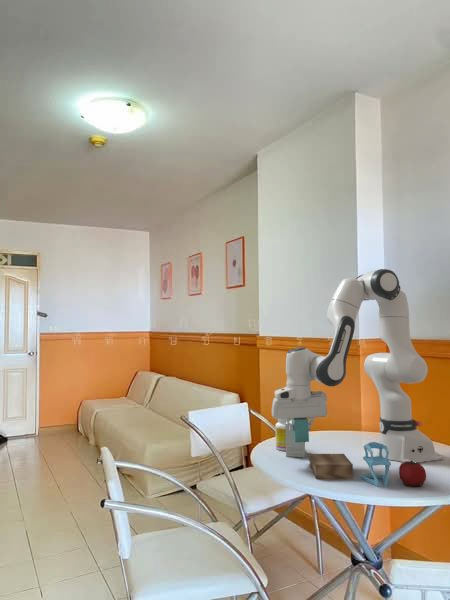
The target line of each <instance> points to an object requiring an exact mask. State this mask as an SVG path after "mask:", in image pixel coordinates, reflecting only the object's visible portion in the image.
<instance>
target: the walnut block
mask: <svg viewBox="0 0 450 600" xmlns="http://www.w3.org/2000/svg"><path fill="white" fill-rule="evenodd" d="M353 465H354V464H353V463H352V462H351V461H350V459H349V458H348V456H346V455H345V453H309V468H310V469H311V473H313V476H314V478H315V479H316V480H354V467H353Z"/></svg>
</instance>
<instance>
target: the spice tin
mask: <svg viewBox="0 0 450 600" xmlns="http://www.w3.org/2000/svg"><path fill="white" fill-rule="evenodd" d="M291 420H292V425H293V426H294V428H293V429H294V431H292V439H293V440H294V441H295V442H305V443H309V442H310V435H309V434H310V432H309V431H310V430H309V428H308V423H309V418H291Z"/></svg>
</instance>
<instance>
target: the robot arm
mask: <svg viewBox="0 0 450 600" xmlns="http://www.w3.org/2000/svg"><path fill="white" fill-rule="evenodd" d="M407 297H408V296H407V295H406V293H405V292H404V291H403V290H401V286H400V280H399V278H398V276H397V274H396V273H395V271H392V270H390V269H386V268H380V269H377V270H376V269H375V270H371V271H368V272H366V273H363V274H360V275H359V276H357V277H356V278H354V277H353V278H352V277H346V278H344V279H342V280H341V281H340V282H339V285H338V286H337V288H336V289H335V291H334V292H333V295H332V296H331V299H330V302H329V304H328V308H327V311H326V318H327V319H328V322H329V323H330V325H331V326H332V327H333V329H334V335H333V339H332V342H331V346H330V349H329V352H328V354H327V355H326V356H325V355H320V354H317V353H315V352H312V351H311V350H310V349H308V348H307V347H304V346H302V347H301V346H300V347H294V348H291V349H289V350H288V351H287V353H286V357H285V358H286V359H285V374H286V377H287V378H286V382H285V383H286V386H284V387H281V388H279V389H276V390H274V392H273V393H274V398H273V400H272V404H271V417H272V418H273V419H275V420H278V419H286V422H287V423H288V425H289V430H290V431H294V429H293V428H294V426H293V425H291V424H290V422H289V421H291V420H292V418H307V419H308V428H309V431H312V425H313V423H314V422H315V418H326V417H327V416H328V407H327V401H328V398H327V393H326V392H324V391H323V390H319V391H314V390H312V389H311V386H312V385H311V382H312V381H316V382H318V383H322V384H323V385H325V386H327V387H336V386H338V385H340V384H341V383H342V382H343V381H344V380H345V377H346V374H347V359H348V356H349V352H350V347H351V344H352V342H353V337H354V333H355V328H356V325H355V324H356V319H357V318H358V313H359V311H360V309H361V305H362V304H363V301H373V300H374V301H376V303H377V304H378V309H379V310H378V336H379V338H380V340H381V341H382V342H384V343H385V344H386V346H387V347H388V349H389V352H376V353H371V354H369V355H367V356H366V358H365V360H364V363H363V368H364V369H363V370H364V372H365V374H366V375H367V376H368V378H370V379H371V380H372V382H373V383H374V386H375V388H376V390H377V393H378V398H379V405H380V407H379V408H380V417H379V431H380V439H379V443H380V444H383V445H385V446H387V448H388V451H389V455H388V460H391V461H396V462H401V463H404V462H406V461H408V462H410V461H413V462H417V463H424V462H423V461H427V462H431V461H430V460H436V461H438V460H437V459H442V460H443V456H442V455H441V453H439V452H438V451H436V450H435V446H434V443H433V441H432V440H431V438H429V436H427V435H425V434H424V433H423V432H421V431H420V430H419V429H418V428H417V427H419V428H421V427H422V426H423V424H422V421H420V420H416V419H414V418H413V415H412V399H411V397H410V396H409V395H408V394H407V393H406V392H405V391H404V390H403V389H402V387H401V385H400V383H401V384H418V383H422V382H423V381H424V380H425V379H426V377H427V375H428V370H429V369H428V365H427V362H426V361H425V359H424V358H423V357H422V356H421V355H420V354H419V353H418V352H417V350H416V349H415V346H414V345H413V343H412V340H411V339H412V338H411V331H410V312H409V311H410V310H409V309H410V307H409V303H408V302H409V301H408V298H407ZM379 451H380V449H378V451H377V456H379ZM386 454H387V453H386V451H385V449H382V456H383V457H384V458H385V456H386Z"/></svg>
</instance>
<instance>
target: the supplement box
mask: <svg viewBox="0 0 450 600" xmlns="http://www.w3.org/2000/svg"><path fill="white" fill-rule="evenodd" d="M289 422H290V424H291V425H292V419H291V421H289ZM285 456H286V457H289V458H305V457H306V442H295V441H294V440H293V439H292V431H290V430H289V425H288V423H287V422H286V451H285Z"/></svg>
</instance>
